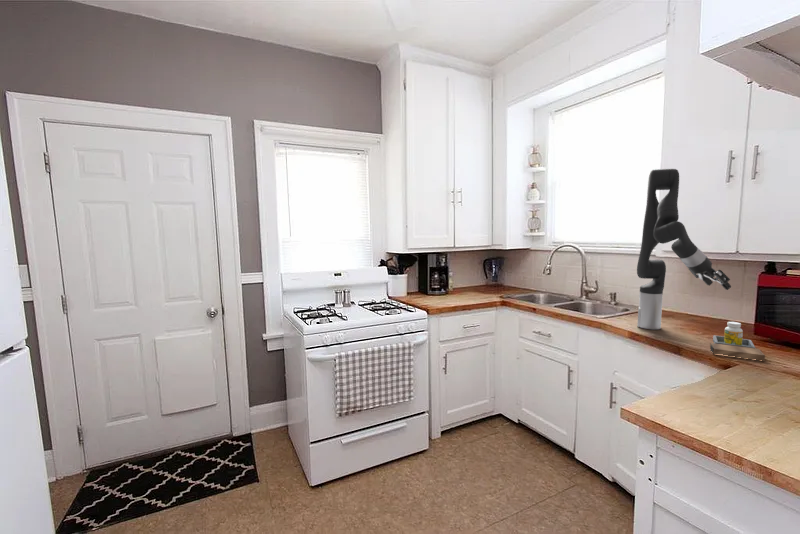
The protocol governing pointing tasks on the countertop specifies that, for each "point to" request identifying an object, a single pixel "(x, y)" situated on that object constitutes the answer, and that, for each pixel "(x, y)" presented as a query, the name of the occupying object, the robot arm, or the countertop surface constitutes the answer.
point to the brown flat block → (737, 351)
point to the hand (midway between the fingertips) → (719, 286)
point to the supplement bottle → (733, 333)
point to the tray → (744, 344)
